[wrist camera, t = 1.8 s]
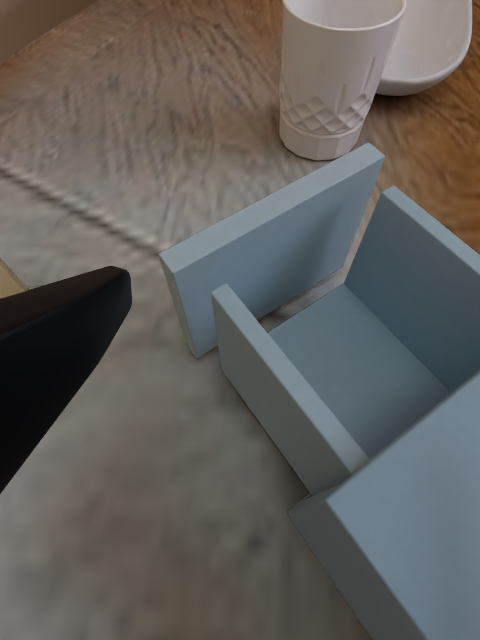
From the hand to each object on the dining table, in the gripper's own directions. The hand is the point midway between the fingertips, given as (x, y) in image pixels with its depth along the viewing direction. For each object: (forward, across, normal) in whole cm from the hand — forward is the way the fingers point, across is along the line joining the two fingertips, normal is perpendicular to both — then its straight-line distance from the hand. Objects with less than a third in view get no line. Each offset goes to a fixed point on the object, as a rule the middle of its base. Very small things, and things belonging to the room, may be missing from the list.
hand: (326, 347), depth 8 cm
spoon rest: (+46, -1, -2) cm, 46 cm away
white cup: (+31, +4, +4) cm, 31 cm away
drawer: (+11, -1, +11) cm, 15 cm away
